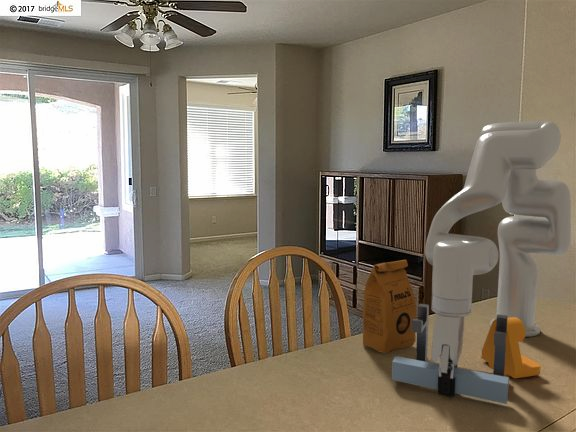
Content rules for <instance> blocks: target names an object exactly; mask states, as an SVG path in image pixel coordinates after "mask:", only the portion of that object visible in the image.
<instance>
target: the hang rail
mask: <svg viewBox="0 0 576 432" xmlns="http://www.w3.org/2000/svg"><path fill="white" fill-rule="evenodd" d="M414 359H415V358H413V359H412V358H407V357H404V356H396V355H395V356H394V358H393V359H392V361H391V363H392V364H391V365H392V366H391V367H392V369H391V380H392V381H397V382H402V383H406V384H409V385H410V384H411V385H414V386H415V385H416V386H419V387H420V386H421V387H425V388H430V389H434V390H438V375H439V364H435V363H436V362H435V363H430V362H431V361H430V362H424V361H419V360H414ZM448 368H450V370H451V367H450V366H448ZM467 369H468V368H467ZM467 369H461V368H456V367H454V378H455V394H458V395H462V396H466V397H467V396H468V397H472V398H475V399H481V400H486V401H490V402H495V403H501V404H506V405H507V404H508V398H507V397H509V388H508V380H509V381H510V376H509V377H504V376H498V375H493V374H488V373H483V372H484V371H483V372H477V371H472V370H467Z"/></svg>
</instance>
